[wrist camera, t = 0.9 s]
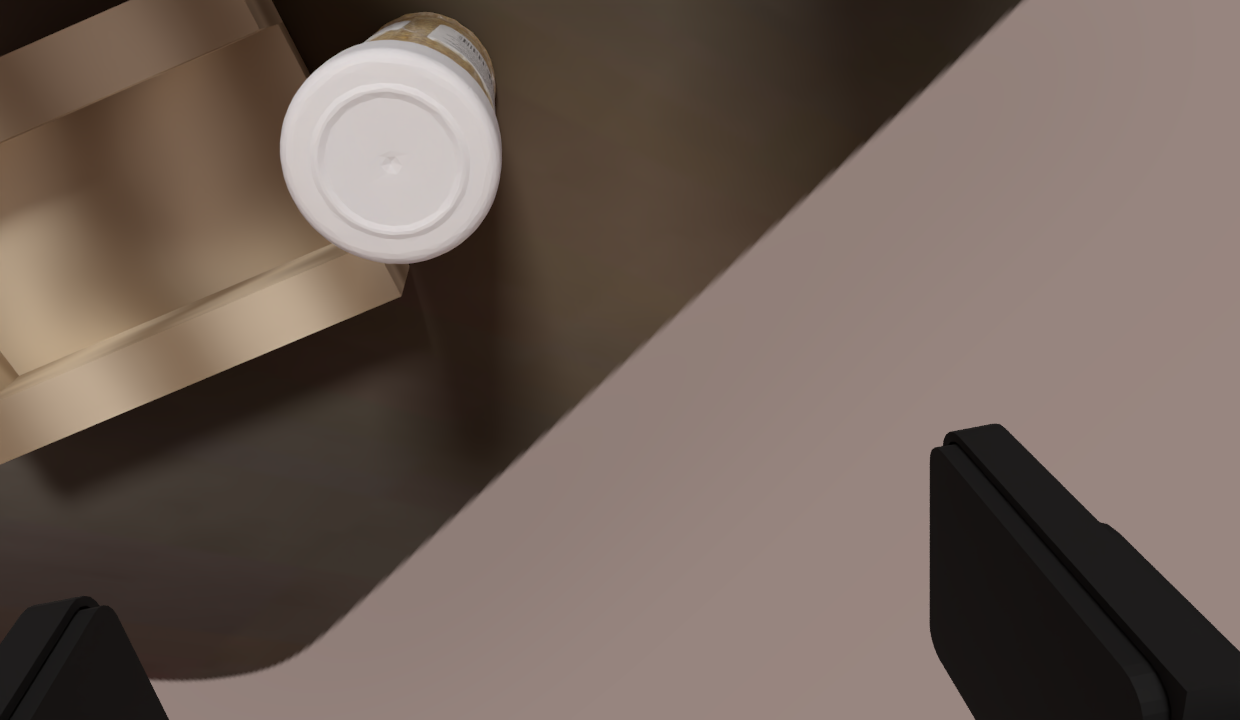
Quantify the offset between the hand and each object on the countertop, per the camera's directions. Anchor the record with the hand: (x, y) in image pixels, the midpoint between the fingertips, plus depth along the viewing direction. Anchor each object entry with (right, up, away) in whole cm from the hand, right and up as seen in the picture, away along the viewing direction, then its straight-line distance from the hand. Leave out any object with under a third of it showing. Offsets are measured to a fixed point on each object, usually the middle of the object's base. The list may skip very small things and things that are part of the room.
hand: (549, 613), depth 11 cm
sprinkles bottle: (-6, +12, +21) cm, 25 cm away
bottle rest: (-16, +8, +21) cm, 27 cm away
